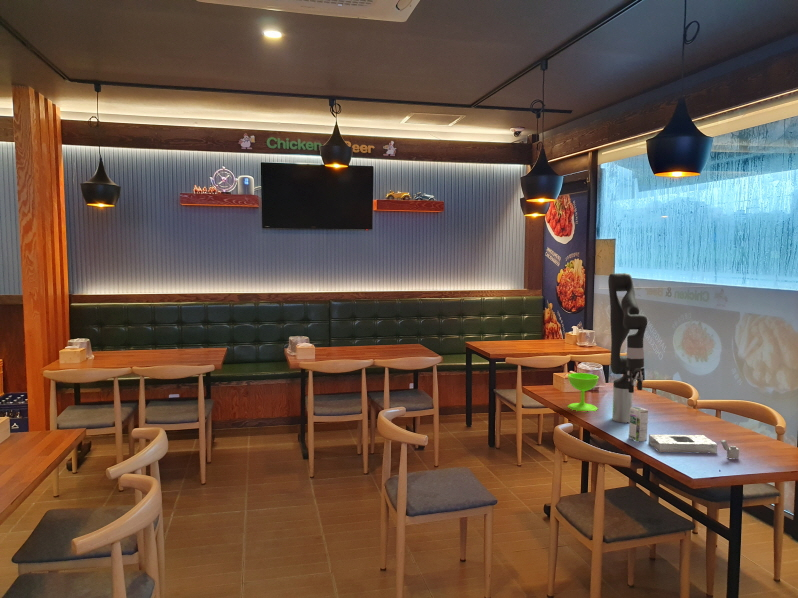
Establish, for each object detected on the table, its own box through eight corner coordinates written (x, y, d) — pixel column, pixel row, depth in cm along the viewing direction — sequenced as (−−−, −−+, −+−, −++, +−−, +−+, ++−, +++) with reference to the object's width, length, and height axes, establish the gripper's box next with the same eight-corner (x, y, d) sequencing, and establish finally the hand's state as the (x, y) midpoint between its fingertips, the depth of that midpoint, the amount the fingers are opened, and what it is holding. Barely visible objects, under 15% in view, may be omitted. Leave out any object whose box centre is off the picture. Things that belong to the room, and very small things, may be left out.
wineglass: (601, 412, 305) (602, 379, 303) (571, 412, 305) (572, 379, 304) (592, 404, 321) (593, 373, 319) (563, 404, 321) (564, 373, 320)
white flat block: (648, 443, 255) (649, 434, 255) (703, 444, 254) (703, 435, 254) (659, 452, 243) (659, 443, 243) (716, 453, 242) (717, 444, 242)
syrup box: (628, 438, 262) (629, 407, 261) (638, 436, 264) (639, 406, 263) (637, 442, 257) (638, 410, 256) (647, 440, 259) (648, 409, 258)
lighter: (736, 457, 237) (737, 439, 237) (738, 459, 236) (739, 440, 235) (719, 458, 237) (720, 439, 236) (722, 459, 235) (723, 440, 235)
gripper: (634, 354, 274) (634, 388, 274) (620, 357, 264) (620, 392, 265) (650, 356, 268) (650, 390, 269) (636, 359, 259) (636, 394, 259)
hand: (635, 391), depth 267 cm, fingers open, 8 cm apart
